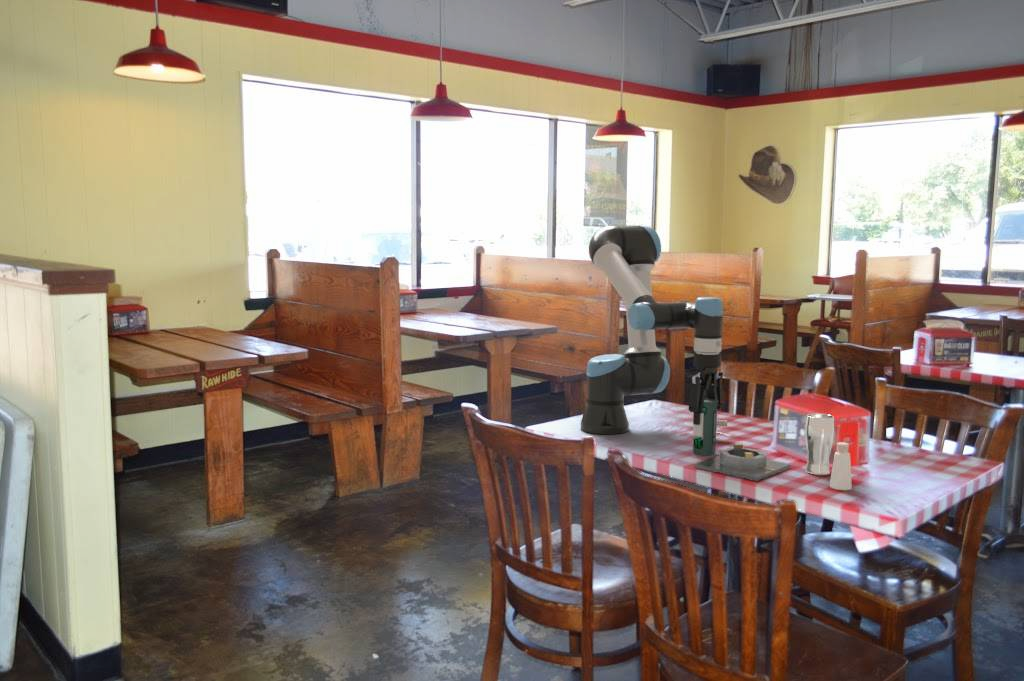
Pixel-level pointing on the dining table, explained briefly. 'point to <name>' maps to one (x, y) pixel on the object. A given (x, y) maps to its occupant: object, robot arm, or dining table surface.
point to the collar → (743, 463)
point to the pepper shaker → (841, 468)
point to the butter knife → (723, 433)
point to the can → (707, 429)
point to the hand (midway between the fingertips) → (704, 433)
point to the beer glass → (819, 442)
